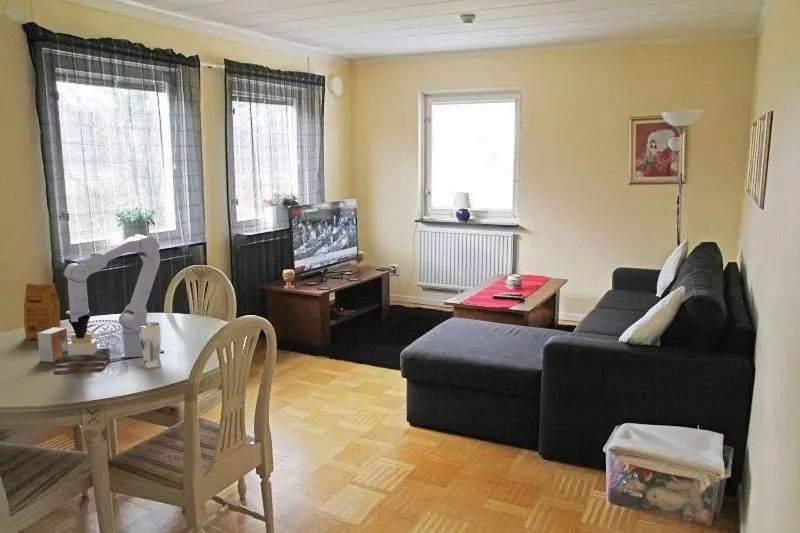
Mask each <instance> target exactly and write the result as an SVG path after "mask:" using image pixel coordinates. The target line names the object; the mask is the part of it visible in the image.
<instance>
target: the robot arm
mask: <svg viewBox="0 0 800 533" xmlns="http://www.w3.org/2000/svg"><path fill="white" fill-rule="evenodd" d="M160 247H161V245H160V243H159V242H158V240H157V239H156V238H155V237H154V236H149V235H148V236H147V235H143V234H140V233H139V234H138V233H137V234H134V235H132V236H130V237H127V238H126V239H125V240H123V241H121V242H120V243H118V244H116V245H114V246H112V247H111V248H109V249H107V250H106V251H104V252H100V251H96V252H94V251H93V252H90V253H89V255H88V256H87V257H86V256H85V257H84V258H82V259H77V262H73V263H72V262H71V263H70V264H68V265H67V266H66V267H65V269H64V271H63V275H64V277H65V278H66V279H67V291H68V292H67V294H68V303H69V304H68V305H69V310H67V311H66V312H65V315H69V316H70V318H69V319H68V323H69V324H70V325H71V326H72V329H73V331H74V332H73V333H75V335H76V338H77V339H79V338H84V334H85V333H87V329H88V324H89V321H90V319H91V316H92V315H91V314H89V313H90V308H89V298H88V297H89V296H88V285H87V279H89V276H91V275H92V274H95V273H96V272H98V271H100V270H102V269H104V268H106V267H107V266H108V263H109V262H110V261H112V260H114V259H116V258H118V257H120V256H122V255H125V254H127V253H130V252H131V253H136V254H138V255H139V257H140V258H141V261H142V262H143V263H142V266H141V270H140V273H139V275H138V278H137V280H136V281H137V282H136V285H135V288H134V290H133V294H132V297H131V300H130V303H128V304H127V305H126V306H125V308H124V310H123V312H122V313H121V314H120V315H119V316H118V317H119V318H118V323H119V325H120V326H121V327H122V340H123V341H122V343H123V353H122V355H121V356H120V357H121V358H123V359H124V358H139V357H142V358H143V353H142V349H141V345H140V338H139V328H140V326H139V325H140V324H142V323H147V322H148V321H147V316H148V310H147V305H148V304H147V303H148V301H149V298H150V295H151V292H152V288H153V285H154V282H155V279H156V275H157V273H158V270H159V267H160V265H161V256H160V250H159V249H160Z"/></svg>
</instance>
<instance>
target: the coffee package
mask: <svg viewBox="0 0 800 533" xmlns="http://www.w3.org/2000/svg"><path fill="white" fill-rule="evenodd" d="M24 292H25V294H24V304H23V325H24V326H23V327H24V332H25V333H24V334H25V340H37V341H38V334H37V333H39V332H42V331H45V330H48V329H51V328H53V327H56V328H62V327H61V326H62V325H61V313H60V312H61V311H60V309H61V308H60V299H59V296H58V292H57V291H56V283H55V282H52V283H51V282H49V283H42V284H38V283H37V284H36V283H32V282H31V283H30V282H27V283H26V288H25V291H24Z"/></svg>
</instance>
